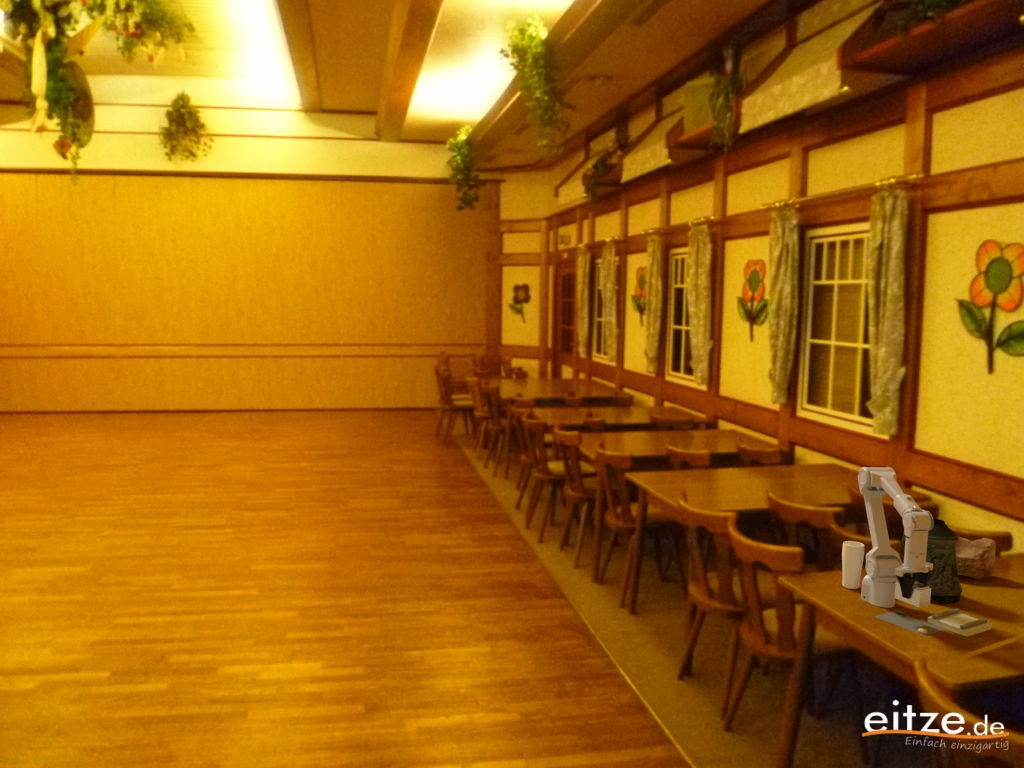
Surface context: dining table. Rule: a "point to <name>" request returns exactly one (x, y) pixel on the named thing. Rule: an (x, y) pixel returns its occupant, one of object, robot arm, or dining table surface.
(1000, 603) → the dining table surface
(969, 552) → the rough brown rock
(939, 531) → the beer stein
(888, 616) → the mat
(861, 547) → the drinking glass
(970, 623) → the stand
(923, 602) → the housing
